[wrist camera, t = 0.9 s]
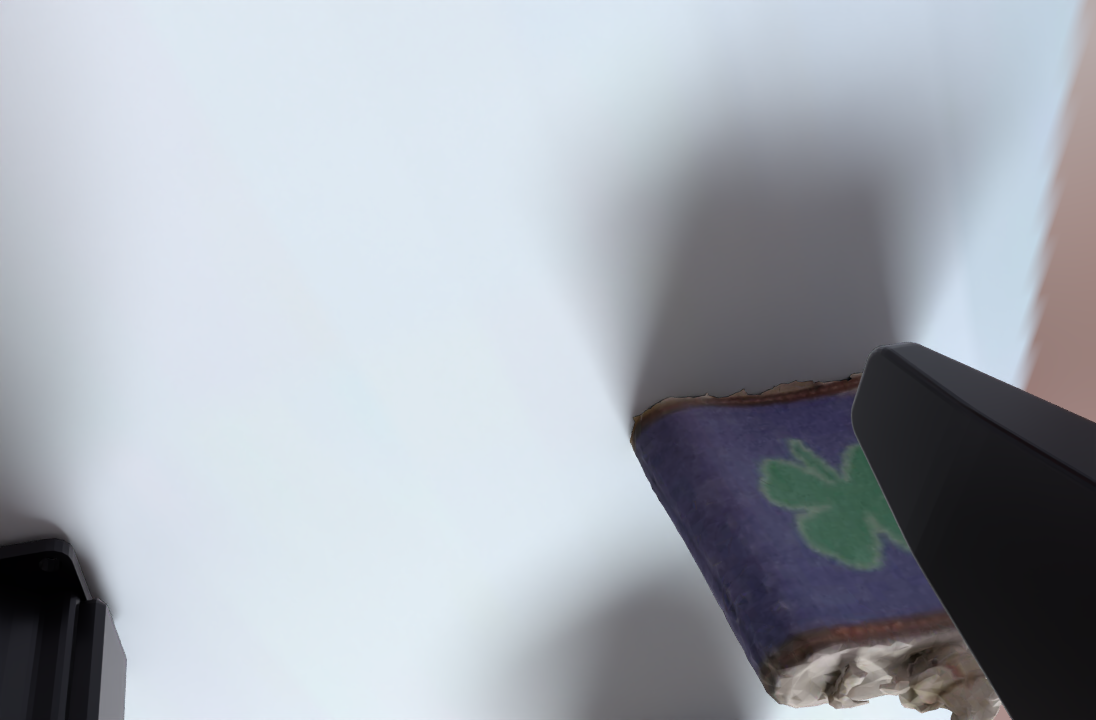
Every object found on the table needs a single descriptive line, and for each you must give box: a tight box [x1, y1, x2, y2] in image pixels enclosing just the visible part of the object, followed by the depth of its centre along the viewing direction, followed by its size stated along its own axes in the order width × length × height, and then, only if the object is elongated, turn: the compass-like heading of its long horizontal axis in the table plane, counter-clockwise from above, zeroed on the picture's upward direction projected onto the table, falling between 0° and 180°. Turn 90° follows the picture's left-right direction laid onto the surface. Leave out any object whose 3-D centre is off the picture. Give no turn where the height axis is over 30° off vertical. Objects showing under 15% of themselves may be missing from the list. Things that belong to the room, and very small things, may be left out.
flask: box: [630, 373, 1002, 720], centre depth 26 cm, size 9×3×11 cm, turn 84°
